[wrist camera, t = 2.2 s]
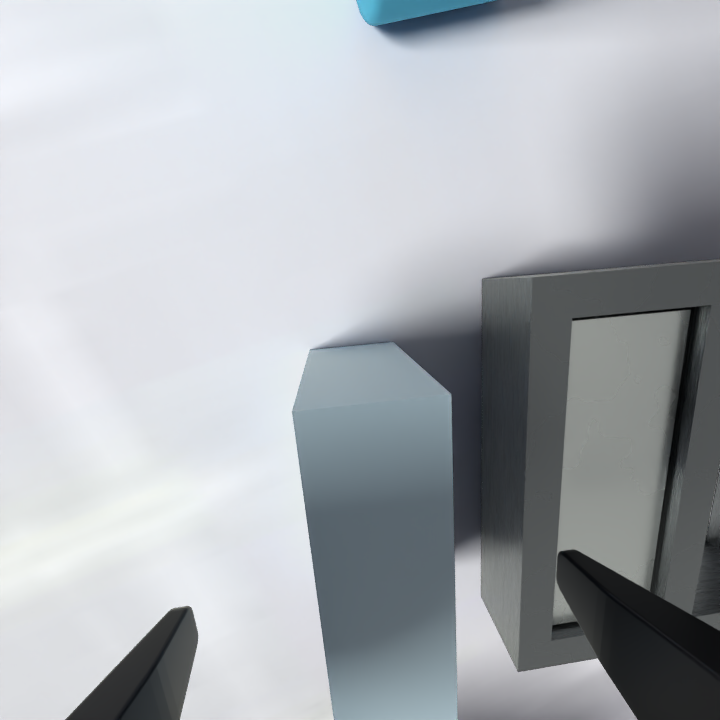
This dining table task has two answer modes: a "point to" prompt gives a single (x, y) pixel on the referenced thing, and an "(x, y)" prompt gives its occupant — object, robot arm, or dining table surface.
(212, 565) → the dining table surface
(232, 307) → the dining table surface
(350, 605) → the block
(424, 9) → the data package
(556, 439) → the frame
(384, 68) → the dining table surface
